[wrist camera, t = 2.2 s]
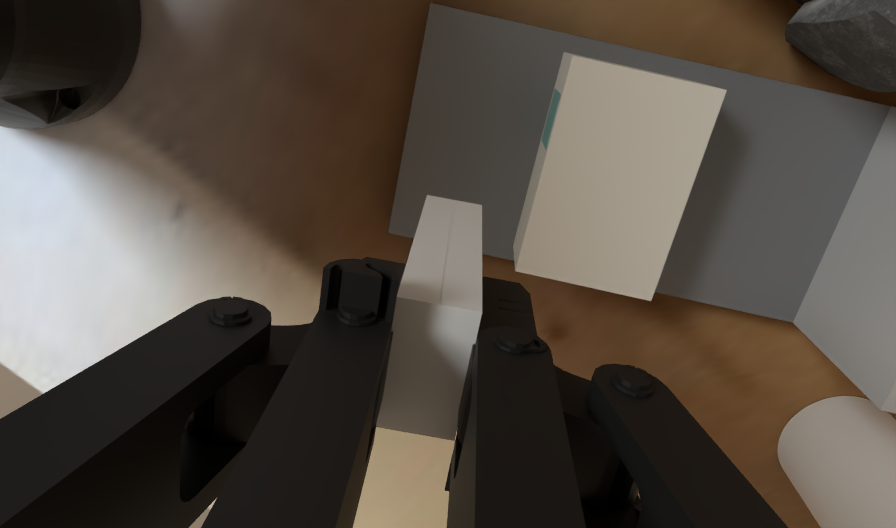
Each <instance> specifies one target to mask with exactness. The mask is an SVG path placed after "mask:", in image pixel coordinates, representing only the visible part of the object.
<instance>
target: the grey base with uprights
mask: <svg viewBox="0 0 896 528" xmlns="http://www.w3.org/2000/svg"><path fill="white" fill-rule="evenodd" d="M564 52H566V53H570V54H575V55H579V56H584V57H588V58H593V59H597V60H602V61H606V62H610V63H615V64H619V65H624V66H628V67H633V68H637V69H642V70H646V71H651V72H655V73H659V74H664V75H668V76H673V77H677V78H682V79H686V80H691V81H695V82H699V83H703V84H707V85H710V86H714V87H718V88H721V89H725V90H727V91H726V94H725V97H724V100H723V102H722V105H721V108H720V111H719V113H718V116H717V119H716V122H715V125H714V127H713V130H712V133H711V136H710V139H709V141H708V144H707V147H706V150H705V153H704V155H703V158H702V161H701V164H700V166H699V169H698V172H697V175H696V178H695V180H694V183H693V186H692V189H691V192H690V194H689V197H688V200H687V203H686V206H685V208H684V211H683V214H682V217H681V220H680V222H679V225H678V228H677V231H676V233H675V236H674V239H673V242H672V245H671V247H670V250H669V253H668V256H667V259H666V261H665V264H664V267H663V270H662V273H661V275H660V278H659V281H658V284H657V287H656V289H655V292H656V293H661V294H665V295H670V296H674V297H679V298H683V299H688V300H692V301H697V302H701V303H706V304H710V305H715V306H719V307H724V308H728V309H733V310H737V311H742V312H746V313H751V314H755V315H760V316H765V317H769V318H774V319H778V320H783V321H787V322H792V323H794V324H795V325H796V326H797V327H798V328H799V329H800V330H801V331H802V332H803V333H804V334H805V335H806V336H807V337H808V338H809V339H810V340H811V341H812V342H813V343H814V344H815V345H816V346H817V347H818V348H819V349H820V350H821V351H822V352H823V353H824V354H825V355H826V356H827V357H828V358H829V359H830V360H831V361H832V362H833V363H834V364H835V365H836V366H837V367H838V368H839V369H840V370H841V371H842V372H843V373H844V374H845V375H846V376H847V377H848V378H849V379H850V380H851V381H852V382H853V383H854V384H855V385H856V386H857V387H858V388H859V389H860V390H861V391H862V392H863V393H864V394H865V395H866V396H867V397H868V398H869V399H870V400H871V401H872V402H873V403H874V404H875V405H876V406H877V407H878V408H879V409H880V410H882V411H887V412H891V413H896V107H892V106H887V105H883V104H878V103H874V102H870V101H865V100H861V99H856V98H852V97H847V96H843V95H838V94H834V93H830V92H825V91H821V90H816V89H812V88H807V87H803V86H798V85H794V84H790V83H785V82H781V81H776V80H772V79H767V78H763V77H758V76H754V75H750V74H745V73H741V72H736V71H732V70H727V69H723V68H718V67H714V66H710V65H705V64H701V63H696V62H692V61H687V60H683V59H678V58H674V57H670V56H665V55H661V54H656V53H652V52H647V51H643V50H638V49H634V48H630V47H625V46H621V45H616V44H612V43H607V42H603V41H598V40H594V39H590V38H585V37H581V36H576V35H572V34H567V33H563V32H558V31H554V30H549V29H545V28H541V27H536V26H532V25H527V24H523V23H518V22H514V21H509V20H505V19H501V18H496V17H492V16H487V15H483V14H478V13H474V12H469V11H465V10H461V9H456V8H452V7H447V6H443V5H438V4H434V3H430V7H429V13H428V18H427V24H426V29H425V34H424V40H423V45H422V51H421V56H420V62H419V67H418V72H417V78H416V83H415V89H414V94H413V100H412V105H411V110H410V116H409V121H408V127H407V132H406V138H405V143H404V148H403V154H402V159H401V165H400V170H399V175H398V181H397V186H396V192H395V197H394V203H393V208H392V213H391V219H390V224H389V230H388V233H390V234H394V235H399V236H403V237H408V238H412V239H414V237H415V234H416V230H417V227H418V224H419V220H420V217H421V214H422V210H423V207H424V204H425V200H426V197H427V195H430V196H435V197H441V198H446V199H452V200H457V201H463V202H468V203H474V204H479V205H482V254H484V255H489V256H493V257H498V258H502V259H507V260H512V261H514V251H513V244H514V240H515V236H516V232H517V229H518V225H519V221H520V217H521V213H522V210H523V206H524V202H525V198H526V194H527V190H528V187H529V183H530V179H531V175H532V171H533V168H534V164H535V160H536V156H537V152H538V148H539V145H540V141H541V137H542V133H543V129H544V126H545V122H546V118H547V114H548V110H549V106H550V103H551V99H552V95H553V91H554V87H555V84H556V80H557V76H558V72H559V68H560V64H561V61H562V57H563V53H564Z"/></svg>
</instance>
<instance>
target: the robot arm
mask: <svg viewBox="0 0 896 528" xmlns="http://www.w3.org/2000/svg"><path fill="white" fill-rule="evenodd" d="M140 30H141V16H140V5H139V0H0V126H3V127H8V128H17V129H38V128H46V127H51V126H56V125H60V124H65V123H69V122H74V121H77V120H80V119H83V118H85V117H87V116H89V115H91V114H93V113H95V112H97V111H98V110H100V109H101V108H103V107H104V106H105V105H106V104H108V103H109V102H110V101H111V100H112V99H113V98H114V97H115V96H116V94H117V93H118V92H119V91H120V89H121V88H122V87H123V85H124V84H125V82H126V80H127V79H128V77H129V75H130V72H131V70H132V68H133V65H134V62H135V59H136V56H137V52H138V47H139V41H140ZM531 306H532V303H531V298H530V294H529V293H528V292H527V291H526V289H525V288H524V287H523V286H522V285H521V284H520V283H516V282H511V281H505V280H500V279H494V278H489V277H483V276H482V205H479V204H474V203H468V202H463V201H457V200H452V199H446V198H441V197H435V196H430V195H427V197H426V200H425V204H424V207H423V210H422V214H421V217H420V220H419V224H418V227H417V230H416V234H415V237H414V240H413V244H412V247H411V250H410V253H409V257H408V260H407V263H406V264H402V263H397V262H391V261H386V260H380V259H375V258H369V257H366V258H364V259H362V260H360V259H342V260H337V261H333V262H330V263H329V264H327V265H326V266H325V267H324V269H323V278H322V287H321V296H320V305H319V311H318V313H317V314H316V316H315V318H314V320H313V322H312V323H309V324H303V325H292V326H271V312H270V311H269V310H268V309H267V308H266V307H265V306H263V305H261V304H259V303H256V302H254V301H251V300H246V299H243V298H240V297H233V298H231V297H221V298H218V299H211V300H207V301H204V302H202V303H199V304H197V305H195V306H193V307H191V308H190V309H188V310H186V311H185V312H183V313H181V314H179V315H178V316H176V317H174V318H173V319H171V320H169V321H167V322H166V323H164V324H162V325H161V326H159V327H157V328H155V329H154V330H152V331H150V332H149V333H147V334H145V335H143V336H142V337H140V338H138V339H137V340H135V341H133V342H131V343H130V344H128V345H126V346H125V347H123V348H121V349H119V350H118V351H116V352H114V353H113V354H111V355H109V356H107V357H106V358H104V359H102V360H101V361H99V362H97V363H95V364H94V365H92V366H90V367H89V368H87V369H85V370H83V371H82V372H80V373H78V374H77V375H75V376H73V377H71V378H70V379H68V380H66V381H65V382H63V383H61V384H59V385H58V386H56V387H54V388H53V389H51V390H49V391H47V392H46V393H44V394H42V395H41V396H39V397H37V398H36V399H34V400H32V401H30V402H29V403H27V404H25V405H24V406H22V407H20V408H18V409H17V410H15V411H13V412H11V413H10V414H8V415H6V416H5V417H3V418H1V419H0V528H189V527H190V526H191V524H192V523H193V522H194V521H195V520H196V519H197V518H198V517H199V516H200V515H201V514H202V513H203V512H204V510H206V509H207V507H208V506H209V505H210V504H211V503H212V502H213V501H214V500H215V499H216V498H217V499H216V501H215V503H214V505H213V507H212V508H211V510H210V512H209V514H208V516H207V518H206V520H205V521H204V523H203V525H202V527H201V528H353V524H354V520H355V516H356V511H357V507H358V503H359V499H360V495H361V491H362V487H363V483H364V479H365V475H366V471H367V467H368V463H369V459H370V455H371V451H372V447H373V442H374V436H375V430H376V427H380V428H386V429H391V430H397V431H403V432H408V433H414V434H420V435H425V436H431V437H437V438H442V439H448V440H455V435H456V430H457V436H456V440H455V445H454V450H453V454H452V459H451V463H450V468H449V472H448V477H447V482H446V486H445V491H449V504H448V518H447V528H788V527H787V526H786V524H785V523H784V522H783V521H782V520H781V519H780V517H779V516H778V515H777V514H776V513H775V512H774V510H773V509H772V508H771V507H770V506H769V505H768V503H767V502H766V501H765V500H764V499H763V498H762V497H761V495H760V494H759V493H758V492H757V491H756V490H755V488H754V487H753V486H752V485H751V484H750V483H749V481H748V480H747V479H746V478H745V477H744V476H743V474H742V473H741V472H740V471H739V470H738V469H737V468H736V466H735V465H734V464H733V463H732V462H731V461H730V459H729V458H728V457H727V456H726V455H725V454H724V452H723V451H722V450H721V449H720V448H719V447H718V445H717V444H716V443H715V442H714V441H713V440H712V438H711V437H710V436H709V435H708V434H707V433H706V432H705V430H704V429H703V428H702V427H701V426H700V425H699V423H698V422H697V421H696V420H695V419H694V418H693V416H692V415H691V414H690V413H689V412H688V411H687V409H686V408H685V407H684V406H683V405H682V404H681V402H680V401H679V400H678V399H677V398H676V397H675V396H674V394H673V393H672V392H671V391H670V390H669V389H668V387H667V386H666V385H664V384H663V383H662V382H661V381H660V380H659V379H657V378H656V377H654V376H652V375H650V374H648V373H647V372H646V371H645V370H642V369H640V368H635V367H634V366H630V365H620V364H606V365H602V366H600V367H598V368H596V369H595V371H594V374H593V377H592V380H591V381H590V380H587V379H584V378H581V377H578V376H576V375H573V374H571V373H568V372H566V371H564V370H562V369H560V368H558V367H556V366H555V365H554V364H553V359H552V354H551V350H550V349H549V347H548V345H547V343H545V342H544V341H543V340H542V339H540V338H539V337H538V336H537V333H536V327H535V321H534V316H533V309H532V307H531ZM457 426H458V427H457ZM638 491H639V494H640V498H639V497H638V495H637V494H638ZM640 499H641V500H640Z"/></svg>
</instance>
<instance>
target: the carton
mask: <svg viewBox="0 0 896 528" xmlns="http://www.w3.org/2000/svg"><path fill="white" fill-rule="evenodd" d="M726 91H727V90H725V89H721V88H718V87H714V86H710V85H707V84H703V83H699V82H695V81H691V80H686V79H682V78H677V77H673V76H668V75H664V74H659V73H655V72H651V71H646V70H642V69H637V68H633V67H628V66H624V65H619V64H615V63H610V62H606V61H602V60H597V59H593V58H588V57H584V56H579V55H575V54H570V53H566V52H564V53H563V57H562V61H561V64H560V68H559V72H558V76H557V80H556V84H555V87H554V91H553V95H552V99H551V103H550V106H549V110H548V114H547V118H546V122H545V126H544V129H543V133H542V137H541V141H540V145H539V148H538V152H537V156H536V160H535V164H534V168H533V171H532V175H531V179H530V183H529V187H528V190H527V194H526V198H525V202H524V206H523V210H522V213H521V217H520V221H519V225H518V229H517V232H516V236H515V240H514V244H513V251H514V263H515V271H517V272H521V273H526V274H530V275H535V276H539V277H544V278H548V279H553V280H557V281H562V282H567V283H571V284H576V285H580V286H585V287H589V288H594V289H598V290H603V291H607V292H612V293H616V294H621V295H625V296H630V297H634V298H639V299H643V300H648V301H651V300H652V298H653V295H654V292H655V289H656V287H657V284H658V281H659V278H660V275H661V273H662V270H663V267H664V264H665V261H666V259H667V256H668V253H669V250H670V247H671V245H672V242H673V239H674V236H675V233H676V231H677V228H678V225H679V222H680V220H681V217H682V214H683V211H684V208H685V206H686V203H687V200H688V197H689V194H690V192H691V189H692V186H693V183H694V180H695V178H696V175H697V172H698V169H699V166H700V164H701V161H702V158H703V155H704V153H705V150H706V147H707V144H708V141H709V139H710V136H711V133H712V130H713V127H714V125H715V122H716V119H717V116H718V113H719V111H720V108H721V105H722V102H723V100H724V97H725V94H726Z"/></svg>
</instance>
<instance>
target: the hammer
mask: <svg viewBox="0 0 896 528" xmlns="http://www.w3.org/2000/svg"><path fill="white" fill-rule="evenodd" d="M795 1H796V2H798V3H799V4H801V5H802V7H801V8H800V9H799V10H798V12H797V13H796V14H795V15H794V16H793V17H792V19H791V20H790V21H789V22H788V23H787V25H786V33H785V35H786V41H787V42H788V43H790V44H791V45H792V46H794V47H795V48H796V49H798V50H799V51H800V52H802V53H803V54H804V55H806V56H807V57H808V58H810V59H811V60H812V61H814V62H815V63H816V64H818V65H819V66H820V67H822V68H823V69H824V70H826V71H827V72H828V73H830V74H831V75H834V76H836V77H838V78H840V79H842V80H844V81H846V82H848V83H850V84H853V85H855V86H859V87H862V88H865V89H868V90H871V91H874V92H888V93H891V92H894V91H896V0H795Z"/></svg>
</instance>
